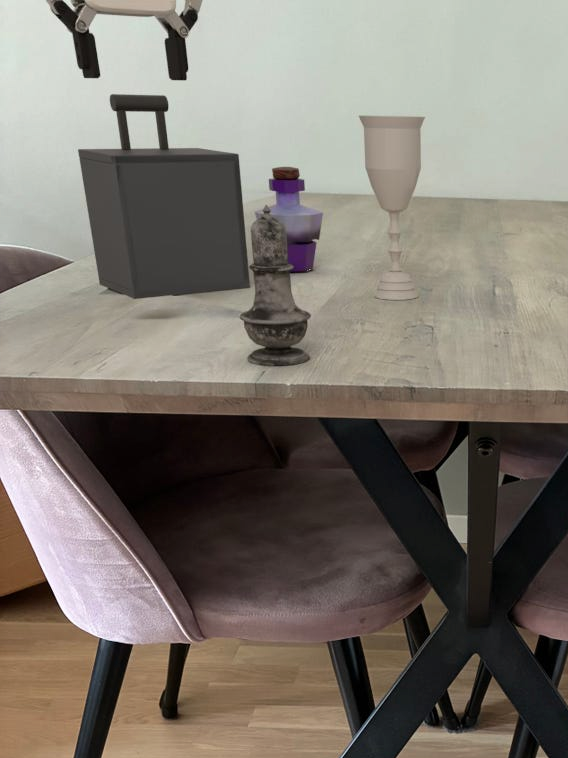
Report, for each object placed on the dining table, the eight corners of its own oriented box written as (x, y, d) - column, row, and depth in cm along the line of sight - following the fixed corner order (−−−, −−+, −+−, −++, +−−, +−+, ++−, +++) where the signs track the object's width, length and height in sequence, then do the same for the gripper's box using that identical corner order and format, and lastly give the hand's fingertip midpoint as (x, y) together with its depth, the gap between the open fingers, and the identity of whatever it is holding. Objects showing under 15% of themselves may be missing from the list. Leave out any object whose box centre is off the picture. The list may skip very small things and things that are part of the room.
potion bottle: (329, 265, 128) (323, 165, 122) (323, 275, 120) (317, 169, 115) (264, 264, 128) (255, 164, 122) (254, 274, 120) (244, 168, 114)
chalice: (353, 294, 109) (344, 115, 100) (399, 288, 113) (395, 115, 104) (392, 303, 104) (387, 116, 96) (439, 297, 109) (439, 117, 100)
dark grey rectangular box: (234, 98, 102) (192, 95, 109) (105, 95, 94) (68, 92, 101) (250, 287, 112) (211, 274, 118) (134, 299, 104) (99, 284, 110)
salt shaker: (312, 349, 84) (303, 201, 79) (314, 365, 79) (304, 208, 74) (245, 351, 84) (230, 201, 78) (242, 367, 79) (226, 208, 73)
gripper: (174, -104, 102) (195, 80, 111) (5, -128, 92) (43, 77, 101) (205, -113, 97) (225, 81, 106) (31, -139, 87) (68, 77, 96)
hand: (136, 79), depth 103 cm, fingers open, 9 cm apart
